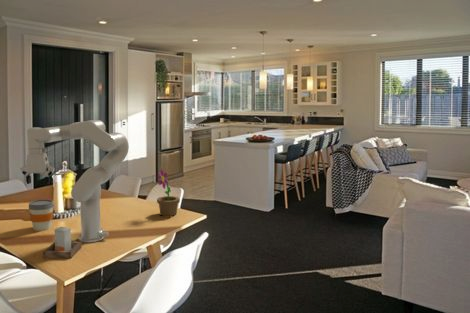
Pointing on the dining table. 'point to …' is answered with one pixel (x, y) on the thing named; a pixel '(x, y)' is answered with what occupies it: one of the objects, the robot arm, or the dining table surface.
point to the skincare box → (62, 239)
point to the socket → (62, 254)
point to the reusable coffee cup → (41, 214)
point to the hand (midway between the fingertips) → (38, 183)
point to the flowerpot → (167, 199)
